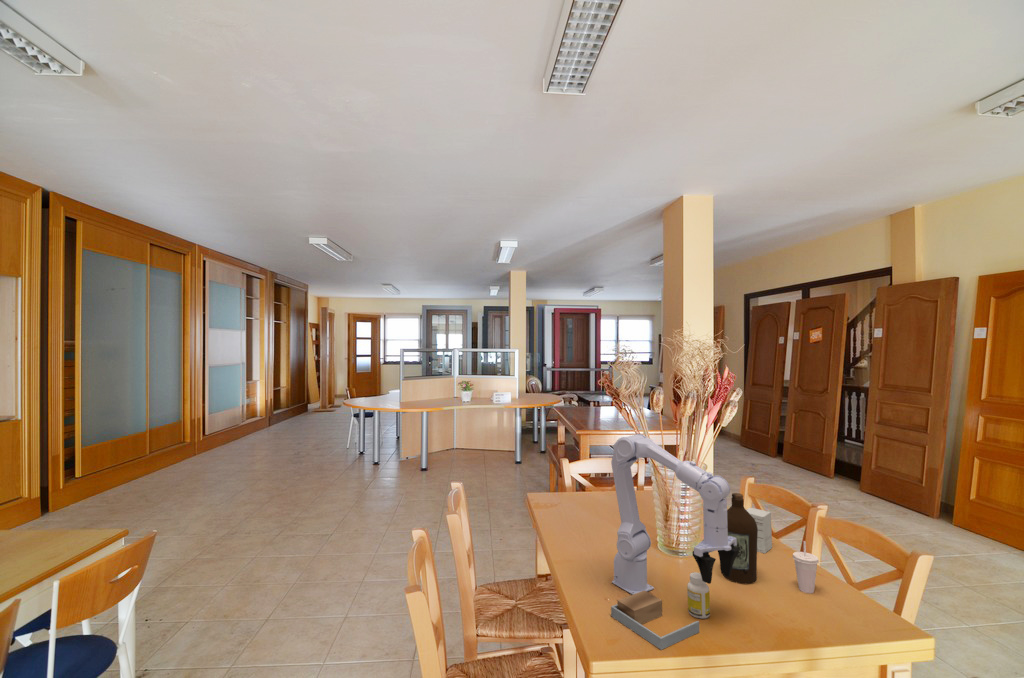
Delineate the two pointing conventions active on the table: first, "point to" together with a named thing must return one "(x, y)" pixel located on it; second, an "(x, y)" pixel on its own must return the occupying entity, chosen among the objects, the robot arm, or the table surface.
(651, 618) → the block
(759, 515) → the supplement box
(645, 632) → the grey bracket
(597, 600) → the table surface
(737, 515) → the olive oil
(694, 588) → the supplement bottle
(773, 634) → the table surface
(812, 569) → the smoothie
